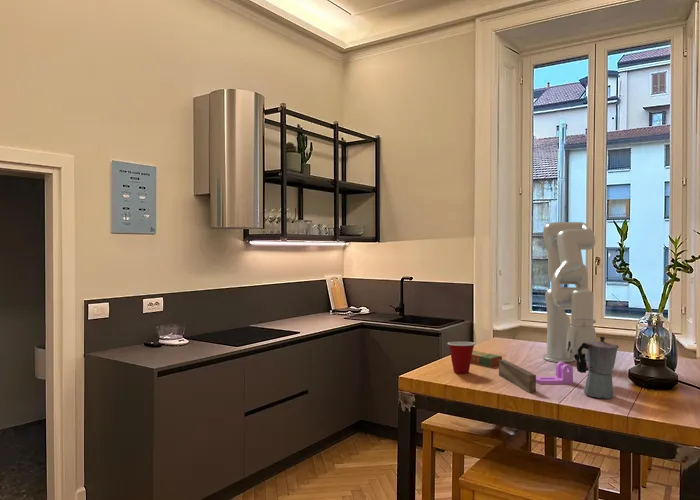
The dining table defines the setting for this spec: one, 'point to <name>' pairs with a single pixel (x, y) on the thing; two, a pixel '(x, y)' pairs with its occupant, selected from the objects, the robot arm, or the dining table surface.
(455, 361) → the plastic cup
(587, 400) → the dining table surface
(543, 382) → the bracket
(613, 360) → the moka pot
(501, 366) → the walnut board
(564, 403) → the dining table surface
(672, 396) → the dining table surface
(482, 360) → the carton
